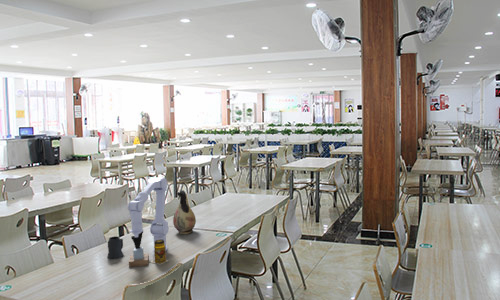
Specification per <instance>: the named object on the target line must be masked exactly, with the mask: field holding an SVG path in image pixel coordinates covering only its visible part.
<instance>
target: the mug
mask: <svg viewBox="0 0 500 300" xmlns="http://www.w3.org/2000/svg"><path fill="white" fill-rule="evenodd" d="M123 240H124V239H123V238H120V236H110V237H109V238H108V240H107V250H108V252H107V256H106V258H107V259H108V260H118V259H122V258H123V257H124V252H123V251H122V250H123V248H124V241H123Z"/></svg>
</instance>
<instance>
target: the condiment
mask: <svg viewBox="0 0 500 300" xmlns="http://www.w3.org/2000/svg"><path fill="white" fill-rule="evenodd" d="M154 243H155V246H154V245H153V251H154V252H153V253H154V259H153V260H151V261H150V263H152V264H156V265H163V264H165V263H167V262H168V261H170V259H167V254H166V252H167V251H165V245H164V240H156V241H155V242H154V241H153V244H154Z"/></svg>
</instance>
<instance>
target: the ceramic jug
mask: <svg viewBox="0 0 500 300" xmlns="http://www.w3.org/2000/svg"><path fill="white" fill-rule="evenodd" d="M176 195H177V196H178V197H179V199H180V200H179V204H178V206H177V207H176V210H175V212H174V214H173V218H172V220H173V221H172V224H173V227H174V228H175V229H176V230H177V232H178V233H179V234H181V235H189V234H190V233H193V230H194V228H195V225H196V223H197V220H196V215H195V213H194V211H193V210H192V208H191V207H190V206H189V204H188V203H187V193H186V191H185V190H183V189H182V190H180V191H177V193H176Z"/></svg>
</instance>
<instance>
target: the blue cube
mask: <svg viewBox="0 0 500 300" xmlns="http://www.w3.org/2000/svg"><path fill="white" fill-rule="evenodd" d="M132 253H133V254H132V255H133V256H134V260H136V259H143V257H144V247H143V246H142V247H141V246H140V249H136V248H135V247H134V248H133V250H132Z"/></svg>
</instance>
